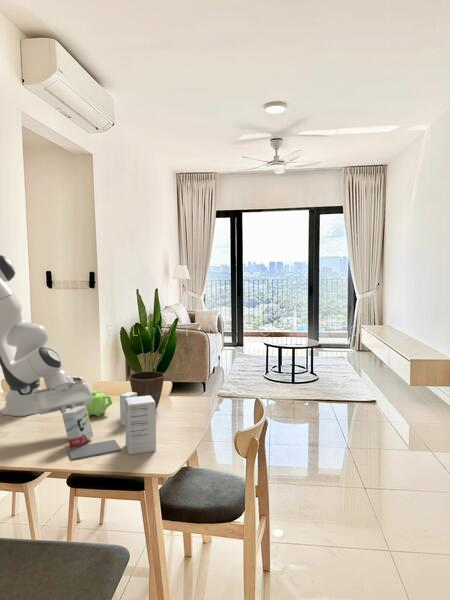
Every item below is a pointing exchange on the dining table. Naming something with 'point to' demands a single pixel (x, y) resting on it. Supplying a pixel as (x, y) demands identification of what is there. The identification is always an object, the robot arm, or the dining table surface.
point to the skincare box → (122, 405)
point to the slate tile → (93, 449)
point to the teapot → (98, 404)
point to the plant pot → (147, 384)
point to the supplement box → (140, 424)
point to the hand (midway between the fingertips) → (71, 417)
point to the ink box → (77, 425)
